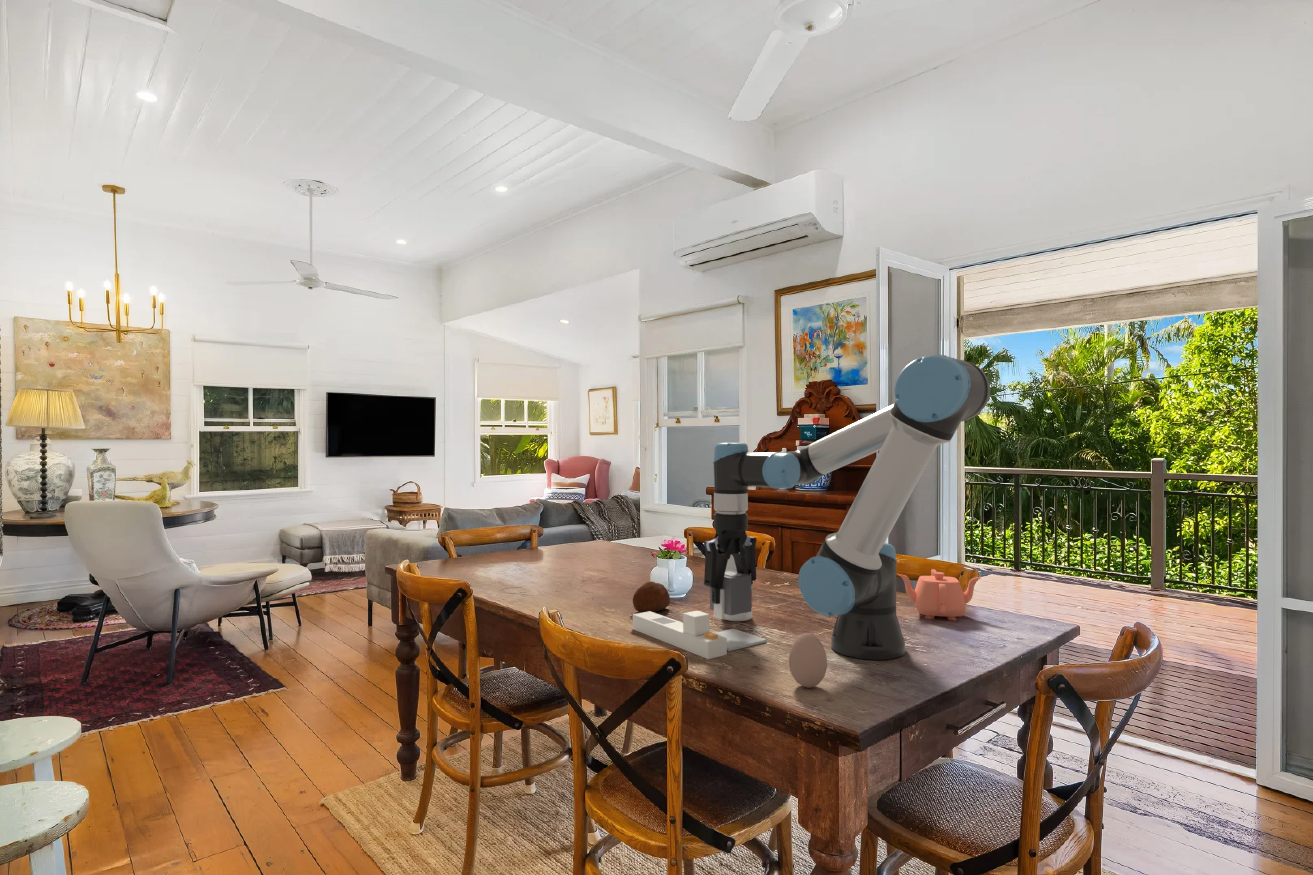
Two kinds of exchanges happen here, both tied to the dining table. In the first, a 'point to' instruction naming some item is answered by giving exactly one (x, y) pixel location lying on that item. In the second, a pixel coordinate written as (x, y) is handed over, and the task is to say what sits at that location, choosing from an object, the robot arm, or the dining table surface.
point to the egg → (808, 660)
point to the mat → (740, 639)
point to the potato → (651, 597)
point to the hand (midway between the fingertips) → (730, 615)
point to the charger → (735, 593)
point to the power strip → (679, 635)
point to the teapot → (939, 595)
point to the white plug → (695, 623)
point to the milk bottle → (742, 617)
